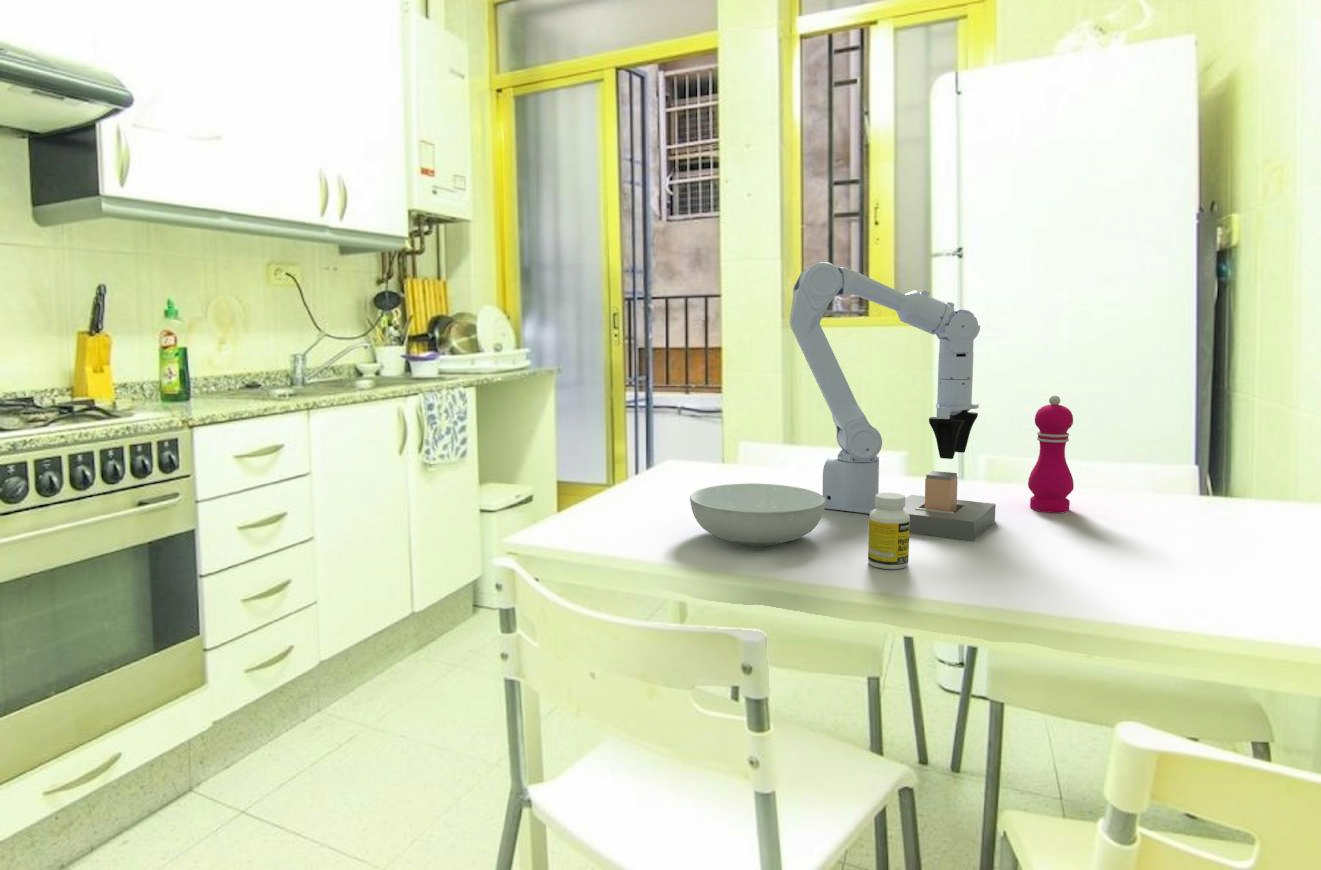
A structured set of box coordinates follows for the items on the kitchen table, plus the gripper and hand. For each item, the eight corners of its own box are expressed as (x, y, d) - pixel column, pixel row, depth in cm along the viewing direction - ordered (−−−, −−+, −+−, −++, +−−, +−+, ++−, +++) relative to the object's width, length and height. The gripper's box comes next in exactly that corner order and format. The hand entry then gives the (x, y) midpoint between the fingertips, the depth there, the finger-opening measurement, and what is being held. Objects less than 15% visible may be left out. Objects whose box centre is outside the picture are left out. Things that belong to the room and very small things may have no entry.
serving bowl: (812, 563, 114) (813, 515, 113) (672, 551, 121) (671, 506, 120) (834, 527, 133) (834, 486, 132) (712, 518, 141) (711, 479, 140)
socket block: (883, 529, 131) (883, 509, 131) (910, 511, 142) (911, 493, 142) (973, 541, 123) (974, 520, 123) (994, 521, 135) (995, 502, 134)
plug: (924, 526, 132) (925, 474, 131) (931, 521, 136) (932, 470, 134) (949, 529, 130) (950, 477, 129) (956, 524, 133) (957, 473, 132)
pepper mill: (1027, 511, 141) (1032, 397, 138) (1026, 503, 147) (1031, 393, 144) (1074, 515, 138) (1080, 397, 135) (1070, 505, 144) (1076, 394, 142)
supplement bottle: (902, 572, 109) (904, 501, 107) (862, 566, 112) (864, 497, 110) (913, 562, 113) (915, 493, 112) (874, 556, 116) (876, 489, 115)
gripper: (968, 382, 134) (965, 463, 136) (988, 376, 146) (986, 451, 148) (925, 381, 138) (922, 459, 140) (948, 375, 150) (946, 448, 152)
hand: (952, 455), depth 144 cm, fingers open, 7 cm apart
